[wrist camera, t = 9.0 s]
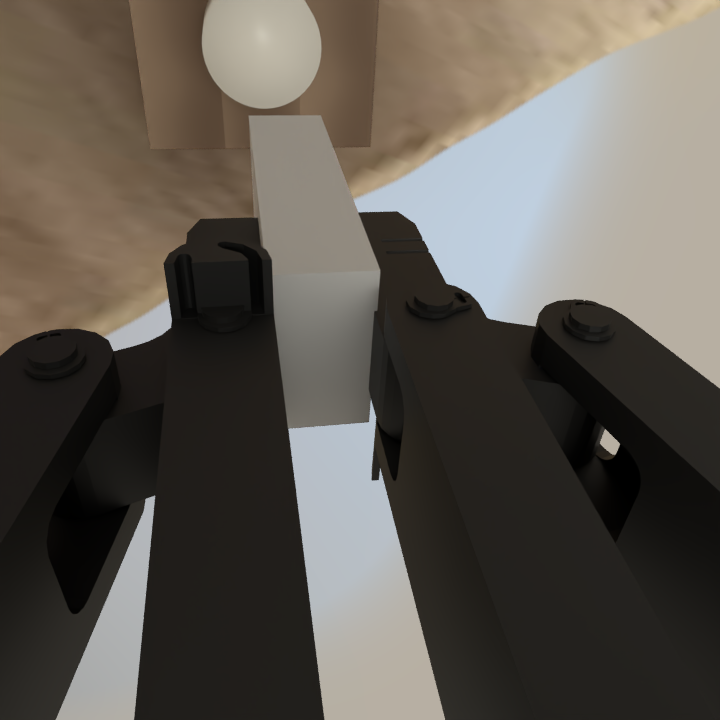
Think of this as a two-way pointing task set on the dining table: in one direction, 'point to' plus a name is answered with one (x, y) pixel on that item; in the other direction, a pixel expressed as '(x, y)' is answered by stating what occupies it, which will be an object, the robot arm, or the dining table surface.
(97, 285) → the dining table surface
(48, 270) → the dining table surface
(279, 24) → the knob
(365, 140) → the mount
